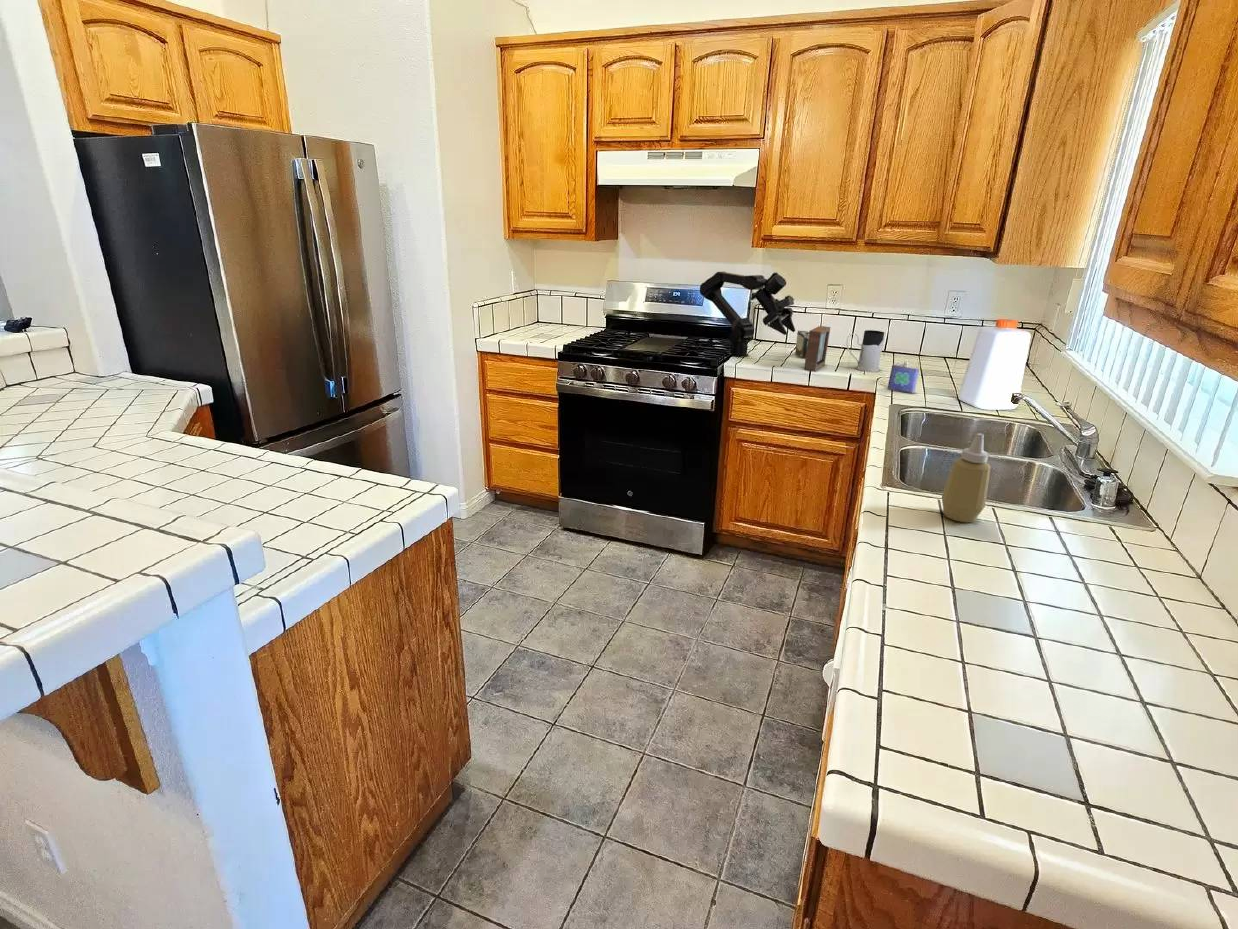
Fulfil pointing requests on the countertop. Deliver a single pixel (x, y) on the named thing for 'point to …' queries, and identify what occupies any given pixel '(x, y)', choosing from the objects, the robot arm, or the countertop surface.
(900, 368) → the flask
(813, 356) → the window frame
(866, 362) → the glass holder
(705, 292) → the robot arm
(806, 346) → the window sash
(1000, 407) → the plastic bottle
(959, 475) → the squeeze bottle
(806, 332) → the food container
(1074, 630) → the countertop surface
